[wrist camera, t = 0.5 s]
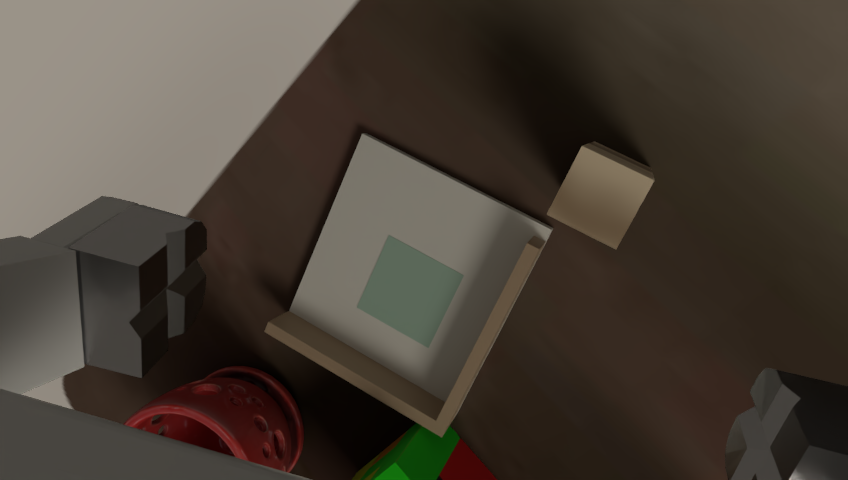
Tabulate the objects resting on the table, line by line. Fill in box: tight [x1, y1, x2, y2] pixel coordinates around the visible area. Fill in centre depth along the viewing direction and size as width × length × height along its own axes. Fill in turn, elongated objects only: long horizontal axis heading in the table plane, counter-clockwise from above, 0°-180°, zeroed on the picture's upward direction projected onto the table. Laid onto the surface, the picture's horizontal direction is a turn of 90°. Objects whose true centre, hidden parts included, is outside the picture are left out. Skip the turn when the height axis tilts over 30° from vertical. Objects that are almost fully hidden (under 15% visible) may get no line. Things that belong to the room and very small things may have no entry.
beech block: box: [547, 141, 654, 249], centre depth 45 cm, size 4×4×12 cm
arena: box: [265, 133, 553, 437], centre depth 54 cm, size 18×17×4 cm
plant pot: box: [123, 366, 304, 473], centre depth 58 cm, size 13×13×12 cm
